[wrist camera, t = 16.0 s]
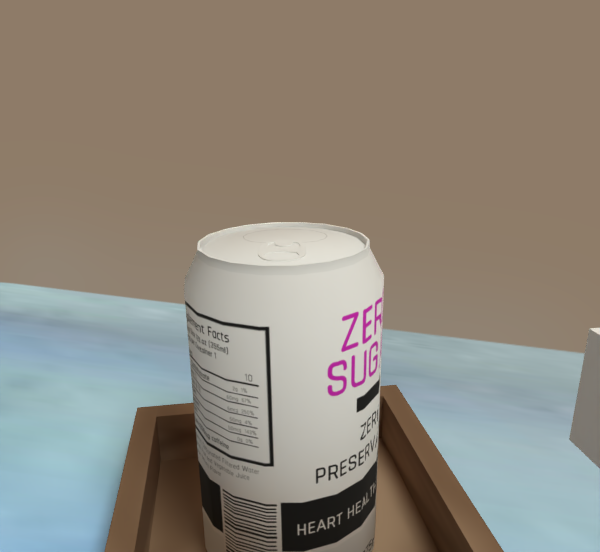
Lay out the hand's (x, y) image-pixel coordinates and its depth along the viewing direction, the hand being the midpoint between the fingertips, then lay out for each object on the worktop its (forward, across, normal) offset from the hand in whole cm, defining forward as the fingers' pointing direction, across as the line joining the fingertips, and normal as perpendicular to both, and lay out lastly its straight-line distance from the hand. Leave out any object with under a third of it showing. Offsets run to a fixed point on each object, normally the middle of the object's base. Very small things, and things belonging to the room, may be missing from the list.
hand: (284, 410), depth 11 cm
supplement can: (+12, +2, -15) cm, 19 cm away
